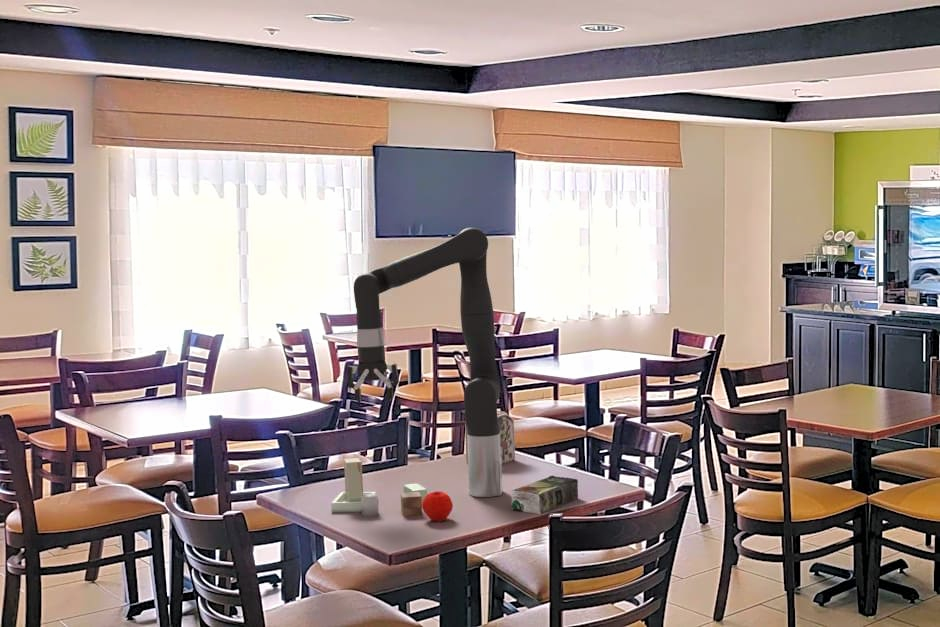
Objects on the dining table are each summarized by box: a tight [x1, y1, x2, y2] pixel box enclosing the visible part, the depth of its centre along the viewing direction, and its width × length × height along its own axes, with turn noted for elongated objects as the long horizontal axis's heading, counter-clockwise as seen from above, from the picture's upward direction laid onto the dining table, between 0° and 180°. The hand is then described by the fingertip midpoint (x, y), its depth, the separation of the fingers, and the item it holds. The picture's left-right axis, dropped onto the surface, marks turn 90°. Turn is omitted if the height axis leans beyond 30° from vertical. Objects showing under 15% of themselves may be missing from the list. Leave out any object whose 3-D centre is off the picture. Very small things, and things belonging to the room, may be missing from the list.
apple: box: [422, 490, 454, 522], centre depth 273 cm, size 8×8×7 cm
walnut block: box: [400, 492, 423, 517], centre depth 281 cm, size 5×5×5 cm
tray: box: [330, 491, 377, 513], centre depth 290 cm, size 10×12×2 cm
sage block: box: [403, 483, 428, 502], centre depth 294 cm, size 8×4×4 cm, turn 23°
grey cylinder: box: [361, 493, 380, 517], centre depth 281 cm, size 4×4×5 cm
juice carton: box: [510, 475, 579, 515], centre depth 285 cm, size 20×10×6 cm, turn 142°
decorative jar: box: [464, 410, 516, 464], centre depth 341 cm, size 12×12×18 cm
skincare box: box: [343, 457, 364, 502], centre depth 290 cm, size 6×4×12 cm
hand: (374, 401), depth 297 cm, fingers open, 8 cm apart
